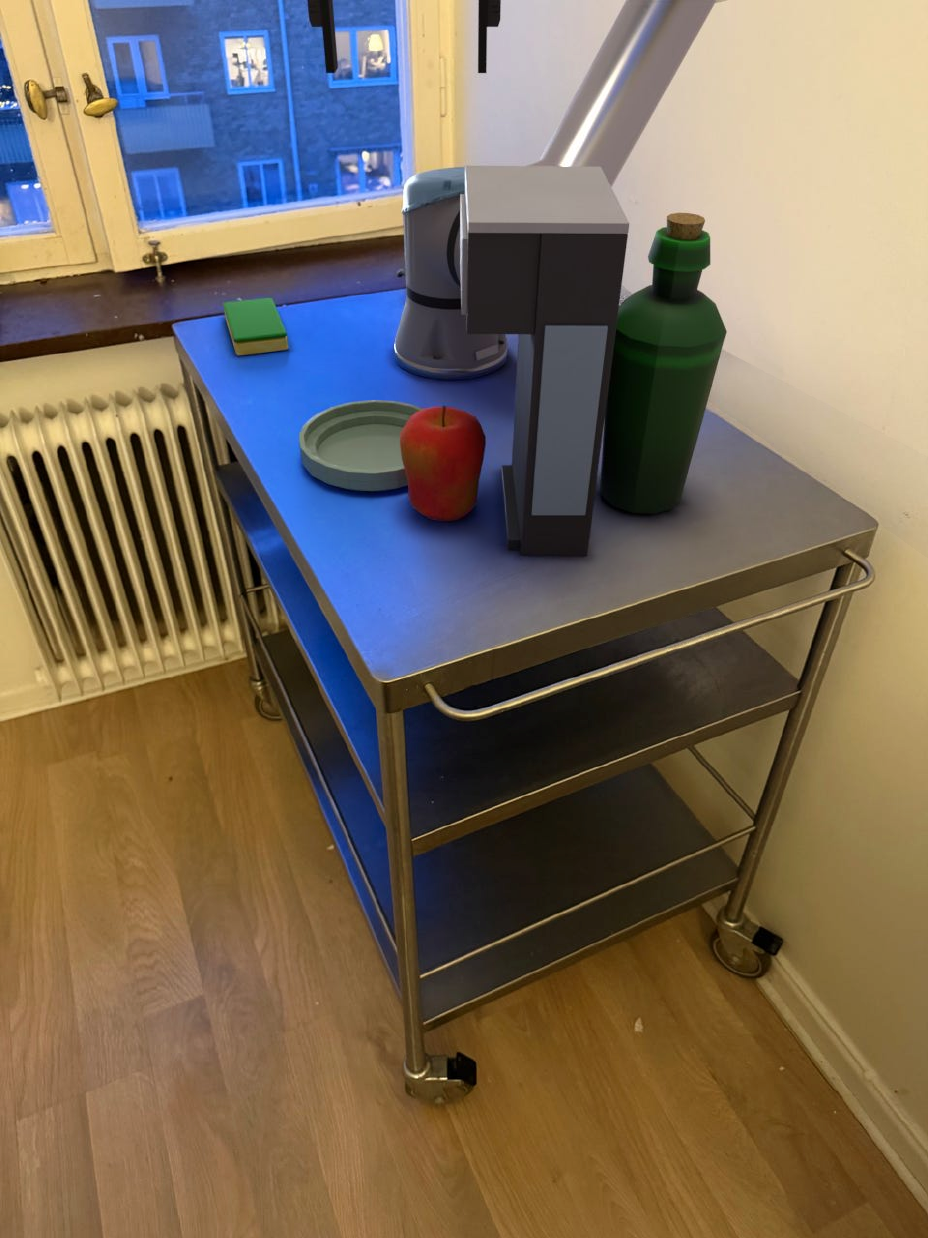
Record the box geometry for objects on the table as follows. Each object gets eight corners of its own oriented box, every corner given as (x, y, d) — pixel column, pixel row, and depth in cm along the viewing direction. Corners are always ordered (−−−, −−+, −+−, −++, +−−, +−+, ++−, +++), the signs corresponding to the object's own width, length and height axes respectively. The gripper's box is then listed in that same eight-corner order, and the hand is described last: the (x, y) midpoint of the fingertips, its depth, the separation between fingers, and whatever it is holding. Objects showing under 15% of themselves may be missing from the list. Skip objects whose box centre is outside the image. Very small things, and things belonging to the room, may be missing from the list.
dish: (280, 444, 101) (276, 420, 99) (404, 411, 107) (403, 388, 105) (339, 512, 91) (336, 488, 89) (473, 471, 97) (473, 447, 95)
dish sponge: (236, 356, 119) (233, 339, 117) (225, 317, 129) (222, 301, 127) (289, 350, 120) (287, 333, 119) (274, 312, 130) (272, 296, 129)
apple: (392, 496, 93) (386, 393, 85) (465, 481, 95) (466, 379, 88) (419, 541, 87) (416, 434, 79) (497, 523, 89) (501, 418, 82)
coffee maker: (459, 558, 85) (463, 223, 65) (458, 469, 97) (460, 165, 77) (587, 558, 85) (630, 224, 65) (569, 469, 98) (601, 166, 77)
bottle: (696, 479, 96) (755, 207, 78) (682, 532, 89) (743, 244, 70) (601, 461, 99) (635, 194, 81) (579, 511, 91) (611, 229, 73)
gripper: (217, -266, 63) (262, 77, 77) (565, -267, 63) (547, 78, 77) (238, -255, 69) (276, 62, 83) (558, -256, 68) (542, 63, 82)
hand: (407, 70), depth 80 cm, fingers open, 13 cm apart
